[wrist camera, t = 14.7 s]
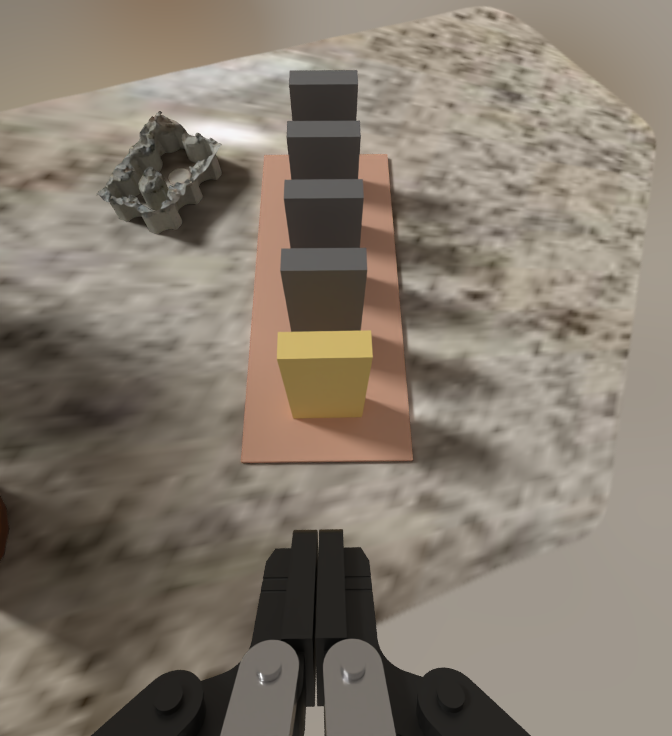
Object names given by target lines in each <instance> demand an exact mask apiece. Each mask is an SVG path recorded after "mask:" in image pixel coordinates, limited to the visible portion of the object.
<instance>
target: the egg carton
mask: <svg viewBox="0 0 672 736" xmlns="http://www.w3.org/2000/svg"><path fill="white" fill-rule="evenodd" d="M161 113H162V112H161V111H159V112H158V113H156V115H155V117H151V118H150V119H149V122H148V123H147V124H145V125H144V127H143V129H142V131H141V132H140V140H139V141H138V143H136V144H135V145H134V146H132V147H131V148H130V149H129V154H128V155H127V156H126V157H125V158H124V160H123V161H122V162H121V163H120V164H118V165H117V166H116V168H115V170H114V171H113V173H112V175H111V177H110V179H109V182H107V184H106V186H105V188H103V189H102V190H100V191H99V192H98V193H97V195H99V196H101V197H102V199H103V200H104V201H106V202H110V204H111V205H112V207H113V208H114V210H115V212H116V214H117V215H118V217H119V219H121V220H124V221H126V222H128V221H129V220H131V219H132V218H135V217H140V216H142V217H143V219H144V221H145V223H146V225H147V227H148V229H149V231H150V232H153V233H155V234H159V233H160V232H162V231H164V230H167V229H175V230H177V229H178V228H179V227H180V225H181V224H182V220H181V217H180V215H179V213H178V210H179V209H180V208H181V207H182V206H184V205H186V204H198V203H199V202H200V201H201V199H202V198H203V196H202V193H201V190H200V188H199V185H200V184H201V183H202V182H203V181H205V180H209V179H214V180H217V179H218V178H219V177H220V176H221V174H222V171H221V169H220V166H219V163H218V159H217V157H216V152H217V151H218V149H219V147H220V145H222V144H220V143H218V142H216V141H215V140H213V139H212V138H210V140H209V139H206V138H204V137H203V136H202V135H201V134H199V133H196V137H195V136H192V135H189V134H187V132H186V130H185V129H184V128H183V127H182V126H181V125H180V124H179V123H178V122H176V121H174V120H170V119H168V118H167V117H165V116H163V115H161ZM180 148H182V149H185V151H186V154H187V157H188V159H189V160H190V161H191V162H194V163H196V164H195V165H194V166H193V167H190V166H189V168H190V171H191V172H190V171H189V170H188V169H185V168H180V169H175V170H173V171H172V172H171V173H170V174H169V176H168V180H169V182H170V183H171V184H172V185H175V186H174V187H173V186H171V185H170V186H169V190H168V187H167V185H166V182H165V180H164V178H163V176H162V174H161V173H159V171H160V170H161V169H162V166H163V163H162V160H161V158H160V157H161V156H162V155H163V154H164V153H166V152H167V153H171V152H175V151H177V150H179V149H180ZM191 174H192V175H191ZM192 176H193V177H192ZM191 177H192V178H191ZM190 180H191V181H192V183H190V182H189V181H190ZM140 193H141V194H142V195H143V197H144V199H145V201H146V203H147V205H148V207H150V208H151V209H153V210H156V211H152V210H151V209H149V208H147V207H145V206H144V205H142V204H141V203H140V202H139V200H138V198H137V197H136V196H137V195H139V194H140Z"/></svg>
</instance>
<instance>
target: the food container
mask: <svg viewBox="0 0 672 736" xmlns="http://www.w3.org/2000/svg"><path fill="white" fill-rule="evenodd" d="M8 533H9V523H8V515H7V508H6V506H5V504H4V502H3V500H2V498H1V496H0V562H1V560H2V558H3V556H4V553H5V548H6V543H7V538H8Z"/></svg>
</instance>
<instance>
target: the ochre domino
mask: <svg viewBox="0 0 672 736" xmlns="http://www.w3.org/2000/svg"><path fill="white" fill-rule="evenodd" d="M372 359H373V353H372V337H371V330H368V331H311V332H278V340H277V362H278V365H279V369H280V373H281V376H282V380H283V383H284V387H285V391H286V394H287V398H288V402H289V405H290V409H291V413H292V416H293V419H296V418H346V417H362V414H363V409H364V403H365V398H366V392H367V387H368V381H369V375H370V370H371V364H372Z"/></svg>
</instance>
